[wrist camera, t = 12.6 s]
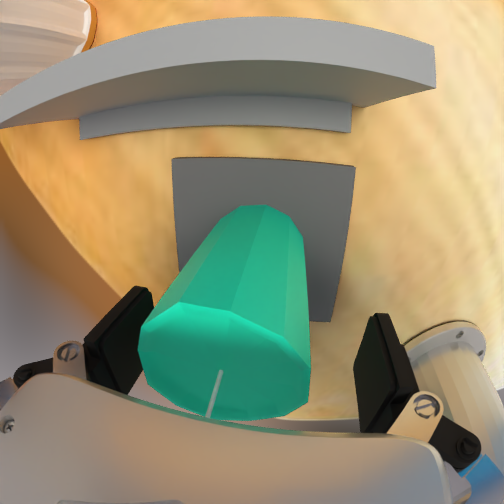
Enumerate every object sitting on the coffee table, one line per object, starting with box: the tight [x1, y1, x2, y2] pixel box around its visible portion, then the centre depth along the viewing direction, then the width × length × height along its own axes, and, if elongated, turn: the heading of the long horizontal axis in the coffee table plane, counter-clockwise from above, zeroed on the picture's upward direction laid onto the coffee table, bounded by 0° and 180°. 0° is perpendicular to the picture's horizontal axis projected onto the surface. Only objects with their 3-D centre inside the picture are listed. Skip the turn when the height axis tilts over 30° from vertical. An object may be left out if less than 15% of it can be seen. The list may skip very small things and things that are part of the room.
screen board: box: [0, 17, 436, 140], centre depth 10 cm, size 5×20×9 cm, turn 88°
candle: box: [138, 205, 311, 421], centre depth 12 cm, size 6×6×12 cm
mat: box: [172, 157, 356, 322], centre depth 18 cm, size 11×11×1 cm
